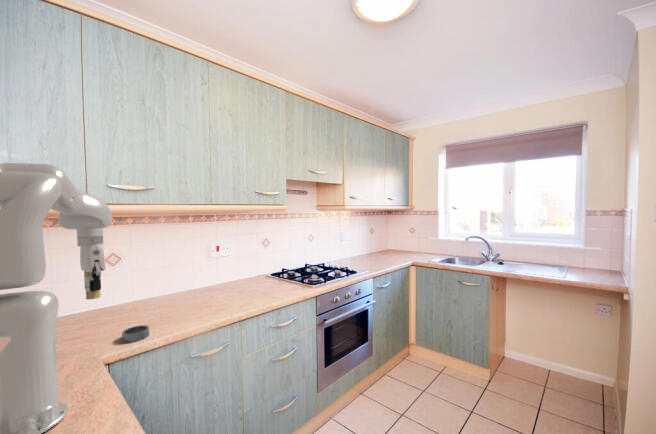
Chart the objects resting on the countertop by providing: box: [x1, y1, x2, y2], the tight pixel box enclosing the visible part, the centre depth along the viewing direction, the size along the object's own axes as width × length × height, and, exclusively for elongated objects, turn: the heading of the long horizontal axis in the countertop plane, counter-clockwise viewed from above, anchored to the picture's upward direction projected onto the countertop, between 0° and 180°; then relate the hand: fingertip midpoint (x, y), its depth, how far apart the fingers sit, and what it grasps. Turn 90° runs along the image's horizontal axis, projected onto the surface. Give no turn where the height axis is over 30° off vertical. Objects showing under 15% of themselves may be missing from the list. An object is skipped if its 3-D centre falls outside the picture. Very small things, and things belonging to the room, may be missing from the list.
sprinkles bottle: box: [84, 267, 102, 300], centre depth 107 cm, size 5×5×13 cm
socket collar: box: [121, 324, 150, 344], centre depth 112 cm, size 9×9×3 cm
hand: (93, 289), depth 107 cm, fingers closed on sprinkles bottle, 4 cm apart
